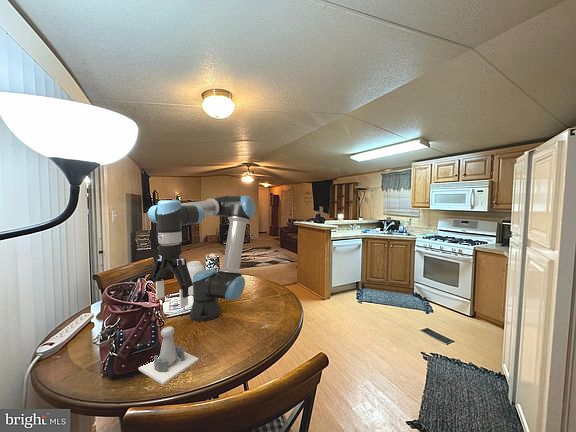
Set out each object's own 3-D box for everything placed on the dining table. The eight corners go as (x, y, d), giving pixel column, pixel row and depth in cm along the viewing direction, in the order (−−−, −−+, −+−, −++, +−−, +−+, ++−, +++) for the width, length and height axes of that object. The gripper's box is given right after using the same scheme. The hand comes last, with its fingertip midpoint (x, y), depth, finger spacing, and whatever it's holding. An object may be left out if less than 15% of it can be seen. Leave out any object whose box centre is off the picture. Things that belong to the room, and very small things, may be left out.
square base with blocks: (138, 369, 84) (138, 358, 84) (174, 349, 96) (174, 338, 96) (162, 385, 77) (162, 372, 77) (198, 360, 89) (198, 349, 89)
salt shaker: (158, 371, 82) (157, 334, 82) (159, 360, 87) (159, 326, 87) (177, 366, 85) (176, 330, 84) (177, 356, 90) (176, 323, 89)
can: (208, 289, 163) (207, 260, 162) (197, 296, 151) (196, 265, 150) (191, 288, 166) (191, 259, 165) (179, 294, 153) (179, 263, 153)
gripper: (139, 242, 88) (141, 298, 89) (183, 248, 76) (185, 314, 77) (159, 239, 95) (160, 292, 96) (202, 245, 82) (203, 305, 84)
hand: (171, 302), depth 86 cm, fingers open, 13 cm apart
